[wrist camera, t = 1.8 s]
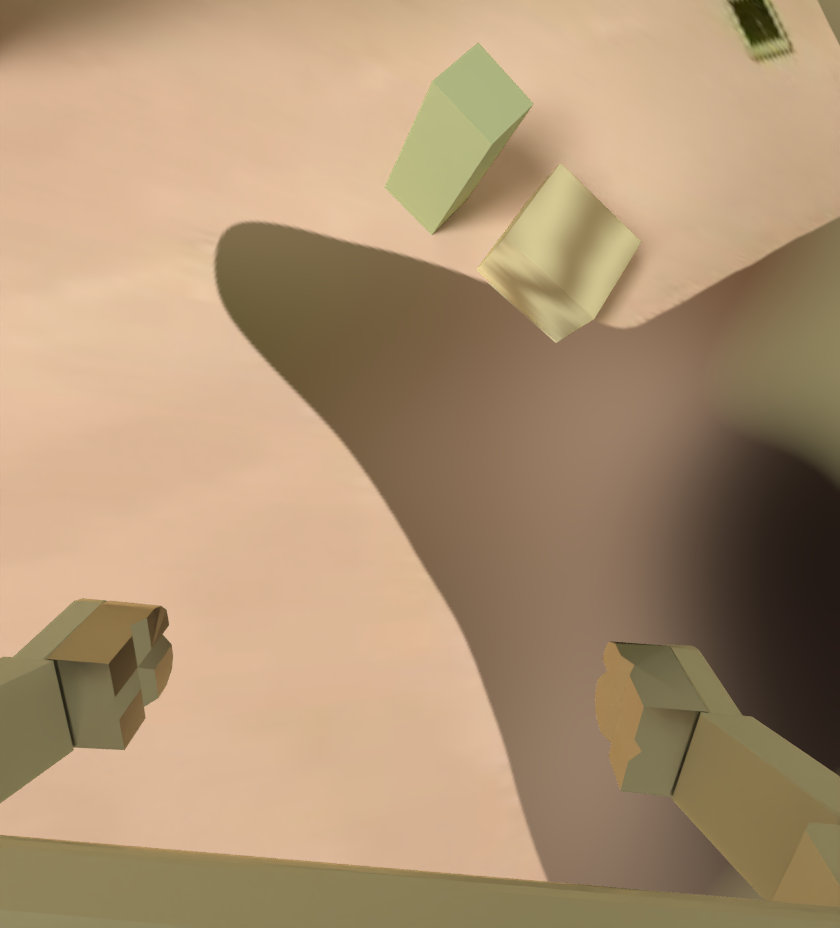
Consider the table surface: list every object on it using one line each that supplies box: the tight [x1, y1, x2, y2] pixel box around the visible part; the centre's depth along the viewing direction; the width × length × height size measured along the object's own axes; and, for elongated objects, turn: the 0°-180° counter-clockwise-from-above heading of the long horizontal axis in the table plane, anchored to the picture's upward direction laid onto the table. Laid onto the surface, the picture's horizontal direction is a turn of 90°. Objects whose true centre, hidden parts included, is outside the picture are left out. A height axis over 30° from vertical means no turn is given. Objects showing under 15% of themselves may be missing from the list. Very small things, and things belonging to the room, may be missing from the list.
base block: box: [476, 163, 641, 343], centre depth 43 cm, size 9×9×5 cm
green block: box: [385, 43, 533, 234], centre depth 38 cm, size 5×5×10 cm
